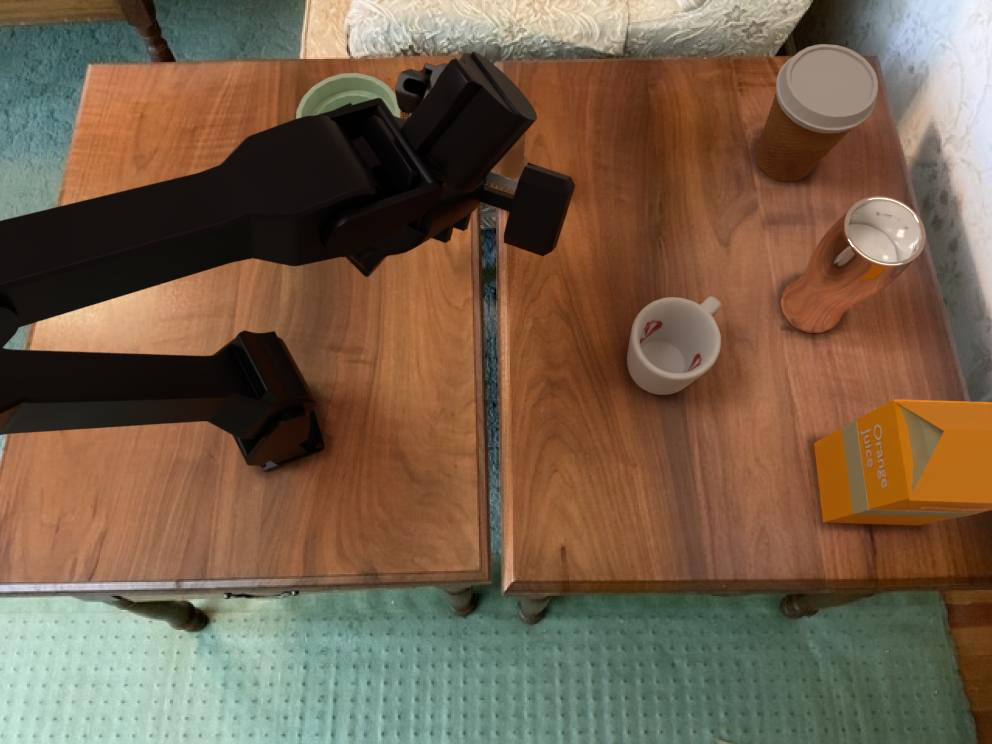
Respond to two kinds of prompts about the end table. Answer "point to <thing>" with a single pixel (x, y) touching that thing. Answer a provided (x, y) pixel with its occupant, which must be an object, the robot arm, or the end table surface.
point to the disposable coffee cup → (814, 109)
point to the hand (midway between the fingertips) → (483, 167)
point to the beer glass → (854, 262)
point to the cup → (673, 343)
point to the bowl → (346, 94)
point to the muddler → (512, 163)
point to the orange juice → (908, 464)
